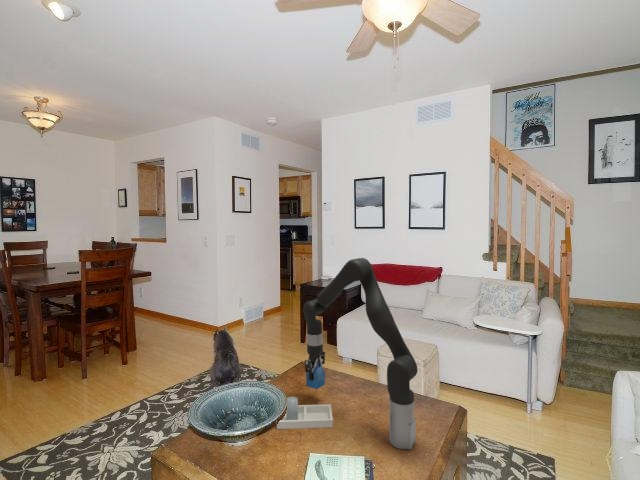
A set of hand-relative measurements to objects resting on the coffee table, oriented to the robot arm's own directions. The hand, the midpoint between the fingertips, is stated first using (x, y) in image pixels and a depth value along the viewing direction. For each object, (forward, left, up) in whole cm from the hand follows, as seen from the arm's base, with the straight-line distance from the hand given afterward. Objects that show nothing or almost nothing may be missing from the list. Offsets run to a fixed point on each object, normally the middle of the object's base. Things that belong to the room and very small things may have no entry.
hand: (315, 377), depth 160 cm
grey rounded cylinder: (0, +18, -11) cm, 21 cm away
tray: (-4, +15, -12) cm, 20 cm away
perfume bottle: (0, 0, -4) cm, 4 cm away
